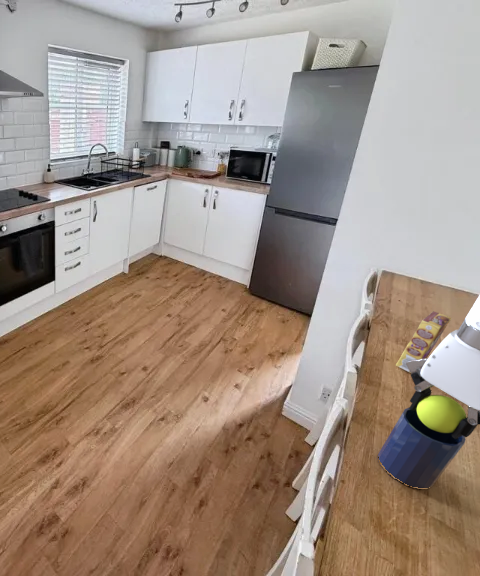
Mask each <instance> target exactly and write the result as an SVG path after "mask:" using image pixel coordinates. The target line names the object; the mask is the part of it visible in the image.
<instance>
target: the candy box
mask: <svg viewBox="0 0 480 576" xmlns="http://www.w3.org/2000/svg"><path fill="white" fill-rule="evenodd" d="M451 320H452V317H450V316H448V315H446V314H443V313H440V312H437V311H432V312H430V313H429V314H428V315H427V316H426V317H425V318H423V319H422V320H421V321H420V323H419V325H418V327H417V328H416V330H415V332H414V333H413V335H412V336H411V339H410V340H409V342H408V343H407V345H406V347H405V348H404V350H403V352H402V353H401V355H400V357H399V359H398V361H397V362H396V364H395V367H397V368H399V369H401V370H402V371H405V372H407V373H409V374H411V372H410V371H409V369H408V367H407V365H406V362H408V361H411V360H417V359H424V358H429V357H428V356H430V354H431V352H432V350H433V349H434V347H435V346H436V344H437V342H438V341H439V340H440V337H442V334H443V333H444V331H445V329H446V328H447V326H448V325H449V324H450V321H451Z"/></svg>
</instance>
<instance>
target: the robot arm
mask: <svg viewBox="0 0 480 576" xmlns="http://www.w3.org/2000/svg"><path fill="white" fill-rule="evenodd" d="M406 365H407V367H408V369H409V371H410V372H411V373H410V377H411V380H412V382H413V384H414V387H413V388H414V390H415V391H414V392H413V395H412V396H411V398H410V400H409V402H410V403H411V404H410V405H409V407H408V408H409V409H411V410H412V411H415V410H417V405H418V403H419V402H420V401H421V400H422V399H423V398H424V397H427V396H430V395H432V392H433V391H432V389H431V388H432V387H435V388H437V389H439V390H441V391H442V392H444V393H445V394H446V395H449V396H451V398H454V399H455V400H457V401H459V402H461V403H463V404H464V405H466V406H467V416H466V418H465V419H463V420H461V422H460V423H459V424H458V426H457V427H456V429H455V430H454V432H453V433H452V434H451V436H452V437H453V438H454V439H457V438H459V437H461V436H464V437H465V438H468V437H469V436H471V434H472V433H474V431H475V429H477V427H478V426H479V425H480V294H479V295H478V297H477V298H476V300H475V302H474V303H473V305H472V306H471V308H470V310H469V312H468V313H467V315H466V316H465V318H464V319H463V321H462V323H461V324H460V326H459V328H458V329H455V330H453V331H451V332H450V333H448V335H447V336H445V338H443V340H442V341H441V342H439V344H438V345H437V346H436V348H435V349H434V350H433V351H432V353H430V354H429V357H427V358H424V359H417V360H411V361H408V362H406Z"/></svg>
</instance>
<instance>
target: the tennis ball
mask: <svg viewBox="0 0 480 576" xmlns="http://www.w3.org/2000/svg"><path fill="white" fill-rule="evenodd" d="M417 414H418V417H419V419H420V420H421V421H422V423H423V424H424V425H426V426H427V427H428V428H430V429H432V430H434V431H437V432H441V433H453V432H454V430H455V429H456V427H457V426H458V424H459V423H460V422H461V420H463V419H465V418H467V413H466V410H465V409H464V407H463V406H462V405H461V404H460V403H459V402H458V401H457V400H456V399H453V398H452V397H449V396H447V395H442V394H431V395H430V396H427V397H424V398H423V399H422V400H421V401H420V402H419V403H418V405H417Z"/></svg>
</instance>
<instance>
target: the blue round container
mask: <svg viewBox="0 0 480 576" xmlns="http://www.w3.org/2000/svg"><path fill="white" fill-rule="evenodd" d="M396 421H397V422H396V423H395V424H394V427H393V428H392V430H391V431H390V433H389V435H388V436H387V438H386V440H385V442H384V443H383V445H382V447H381V448H380V450H379V451H378V454H377V457H378V456H379V460H380V462H381V463H382V465H383V466H384V467H385V469H386V470H387V471H388V472H389V473H391V474H392V475H393V476H394V477H395V478H397V479H399V480H400V481H402V482H403V483H405V484H407V485H409V486H412V487H418V488H429V487H431V486H432V487H433V486H435V484H436V482H438V480H439V479H440V477H441V476H442V474H443V473H444V472H445V471H446V469H447V468H448V467H449V465H450V464H451V462H452V461H453V459H454V458H455V457H456V456H457V454H458V453H459V452H460V450H461V449H462V447H463V446H464V445H465V443H466V437H464V436H461V437H459V438H457V439H454V438H453V437H452V436H451V434H452V433H441V432H437V431H434V430H432V429H430V428H428V427H427V426H426V425H424V424H423V423H422V421H421V420H420V419H419V417H418V414H417V410H415V411H412V410H411V409H409V407H407V408H405V409H403V411H402V413H401V415H400V416H399V418H398V420H396ZM432 487H431V488H432Z"/></svg>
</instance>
